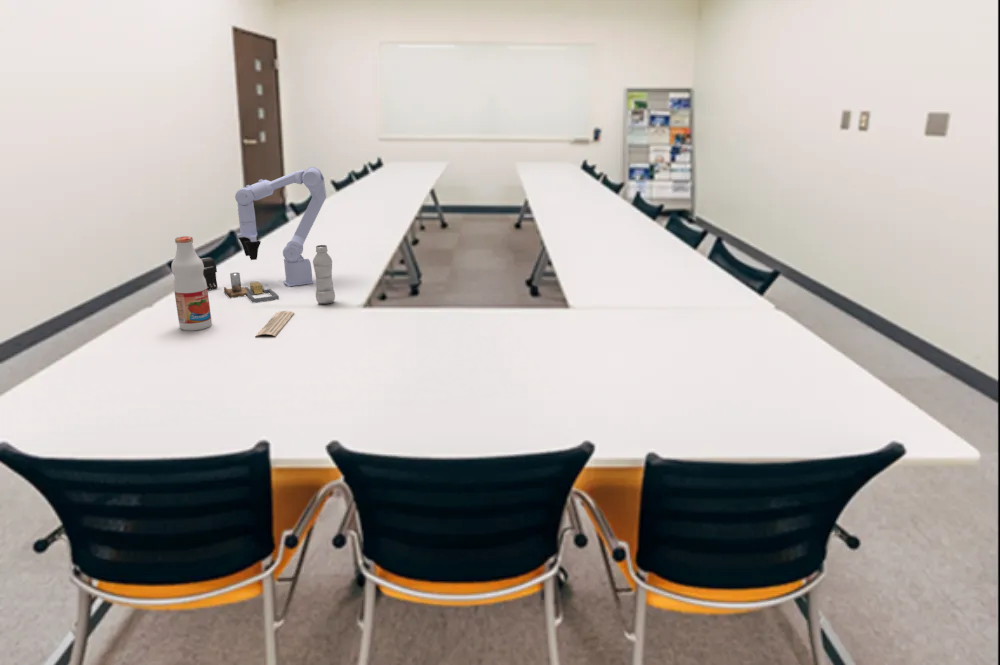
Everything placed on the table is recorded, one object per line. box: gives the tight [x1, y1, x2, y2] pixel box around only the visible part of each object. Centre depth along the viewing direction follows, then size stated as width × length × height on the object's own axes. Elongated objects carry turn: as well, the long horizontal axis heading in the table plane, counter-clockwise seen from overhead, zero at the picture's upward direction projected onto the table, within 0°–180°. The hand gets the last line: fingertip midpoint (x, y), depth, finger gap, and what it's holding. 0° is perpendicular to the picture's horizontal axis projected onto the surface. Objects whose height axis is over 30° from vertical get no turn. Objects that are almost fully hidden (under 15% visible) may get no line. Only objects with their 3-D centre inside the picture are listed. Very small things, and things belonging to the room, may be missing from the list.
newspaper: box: [255, 310, 295, 338], centre depth 230 cm, size 24×7×2 cm, turn 1°
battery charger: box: [200, 257, 218, 291], centre depth 269 cm, size 7×4×11 cm, turn 134°
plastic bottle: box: [312, 244, 336, 305], centre depth 250 cm, size 6×7×20 cm
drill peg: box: [229, 272, 242, 292], centre depth 263 cm, size 3×3×6 cm
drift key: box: [249, 281, 264, 295], centre depth 266 cm, size 3×6×3 cm, turn 31°
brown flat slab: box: [223, 286, 249, 298], centre depth 265 cm, size 7×9×2 cm
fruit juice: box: [171, 235, 213, 332], centre depth 225 cm, size 9×9×28 cm
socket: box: [244, 286, 280, 303], centre depth 263 cm, size 9×19×1 cm, turn 31°
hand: (251, 257), depth 273 cm, fingers open, 7 cm apart
